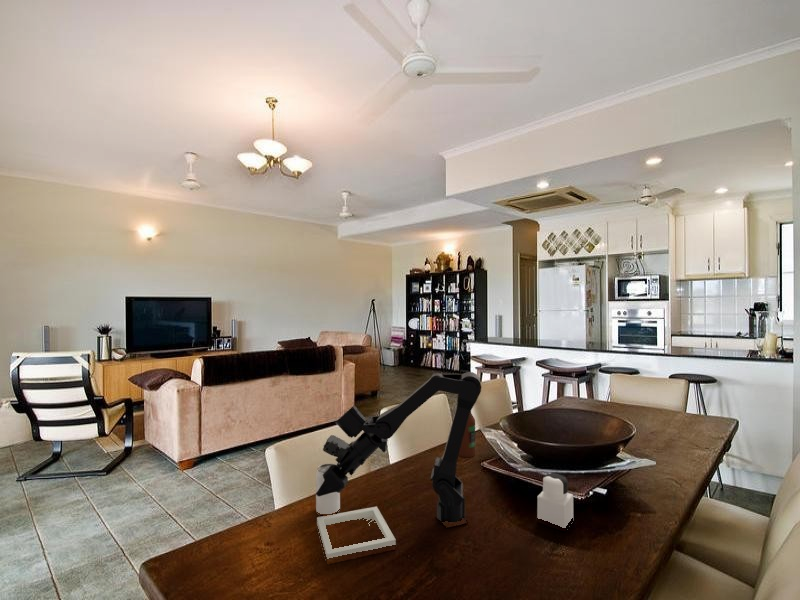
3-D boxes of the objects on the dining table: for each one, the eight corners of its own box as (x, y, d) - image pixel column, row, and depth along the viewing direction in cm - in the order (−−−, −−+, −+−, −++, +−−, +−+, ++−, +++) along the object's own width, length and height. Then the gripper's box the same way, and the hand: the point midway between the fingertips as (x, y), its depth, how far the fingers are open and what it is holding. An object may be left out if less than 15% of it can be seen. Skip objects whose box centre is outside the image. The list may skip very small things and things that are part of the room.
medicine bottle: (546, 512, 112) (546, 468, 112) (573, 521, 108) (573, 475, 108) (536, 523, 107) (536, 477, 107) (564, 533, 102) (564, 485, 102)
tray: (376, 515, 111) (376, 506, 111) (395, 550, 96) (395, 539, 96) (317, 527, 106) (316, 517, 106) (327, 565, 91) (326, 554, 91)
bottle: (476, 458, 150) (476, 389, 150) (456, 457, 150) (456, 389, 150) (473, 450, 157) (473, 385, 157) (454, 450, 157) (454, 385, 157)
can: (311, 515, 112) (311, 471, 111) (323, 503, 118) (322, 461, 118) (333, 518, 110) (333, 474, 110) (343, 506, 116) (343, 464, 116)
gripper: (350, 417, 122) (315, 452, 124) (330, 439, 104) (289, 480, 105) (376, 445, 121) (340, 480, 123) (360, 472, 103) (319, 513, 104)
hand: (323, 486), depth 114 cm, fingers open, 9 cm apart
